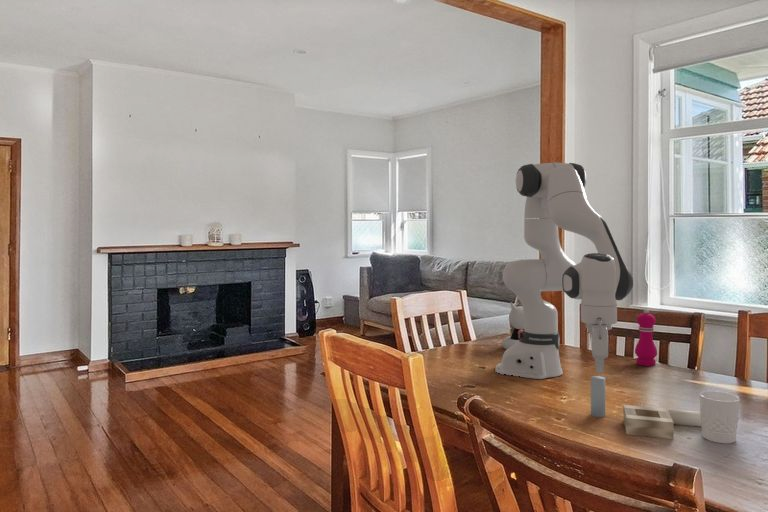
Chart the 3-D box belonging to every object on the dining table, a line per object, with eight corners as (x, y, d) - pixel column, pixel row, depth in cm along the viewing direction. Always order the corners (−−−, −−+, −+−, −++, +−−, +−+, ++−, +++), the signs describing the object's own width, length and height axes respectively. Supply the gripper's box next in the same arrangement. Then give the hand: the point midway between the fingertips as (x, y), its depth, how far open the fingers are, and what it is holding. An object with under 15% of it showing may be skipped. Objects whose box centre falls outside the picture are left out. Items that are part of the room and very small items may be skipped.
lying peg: (664, 409, 138) (665, 424, 136) (666, 407, 134) (667, 422, 133) (709, 413, 134) (710, 428, 133) (712, 411, 131) (713, 427, 130)
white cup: (691, 432, 129) (692, 391, 128) (722, 431, 129) (723, 390, 129) (714, 445, 121) (715, 402, 120) (747, 444, 121) (747, 400, 121)
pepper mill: (659, 366, 188) (660, 310, 187) (637, 366, 190) (638, 310, 189) (653, 361, 195) (654, 307, 194) (632, 361, 197) (632, 307, 196)
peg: (590, 416, 140) (590, 379, 140) (590, 412, 144) (590, 375, 143) (605, 418, 139) (605, 380, 139) (604, 413, 143) (605, 376, 142)
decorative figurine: (532, 345, 226) (532, 298, 225) (544, 353, 211) (544, 303, 210) (498, 346, 225) (497, 299, 224) (508, 354, 211) (507, 304, 210)
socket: (626, 434, 128) (626, 417, 128) (623, 420, 138) (623, 404, 137) (673, 439, 125) (673, 422, 125) (666, 424, 134) (666, 408, 134)
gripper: (614, 322, 129) (614, 378, 130) (609, 310, 148) (609, 360, 149) (586, 321, 131) (586, 376, 132) (585, 310, 150) (585, 358, 151)
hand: (598, 367), depth 140 cm, fingers open, 8 cm apart
